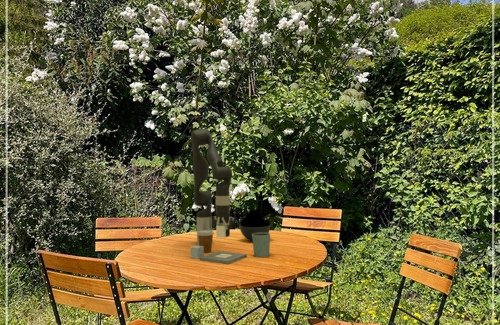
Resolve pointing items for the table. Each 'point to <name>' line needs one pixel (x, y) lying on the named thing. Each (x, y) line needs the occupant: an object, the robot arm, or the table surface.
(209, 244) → the disposable coffee cup
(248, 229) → the coal bowl
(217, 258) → the board
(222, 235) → the cream block
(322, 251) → the table surface
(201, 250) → the blue grey block
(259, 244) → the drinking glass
